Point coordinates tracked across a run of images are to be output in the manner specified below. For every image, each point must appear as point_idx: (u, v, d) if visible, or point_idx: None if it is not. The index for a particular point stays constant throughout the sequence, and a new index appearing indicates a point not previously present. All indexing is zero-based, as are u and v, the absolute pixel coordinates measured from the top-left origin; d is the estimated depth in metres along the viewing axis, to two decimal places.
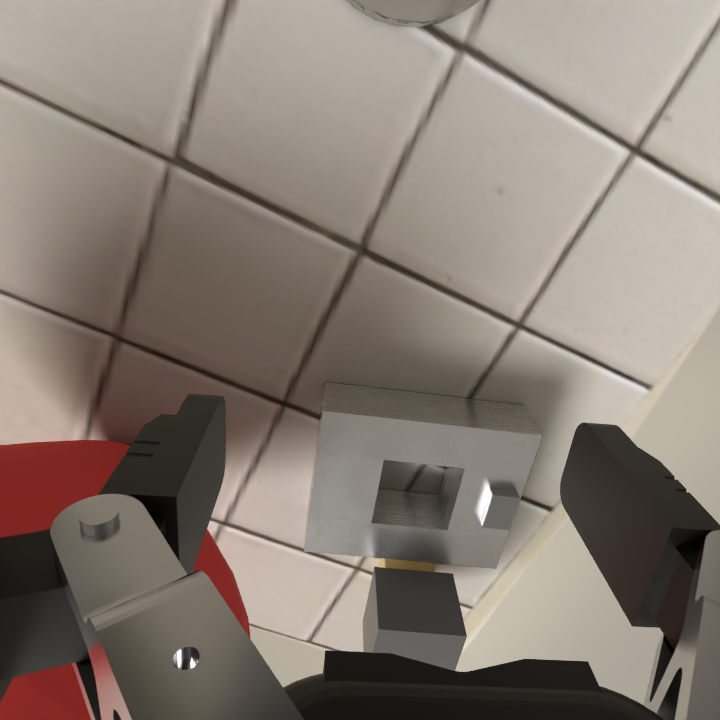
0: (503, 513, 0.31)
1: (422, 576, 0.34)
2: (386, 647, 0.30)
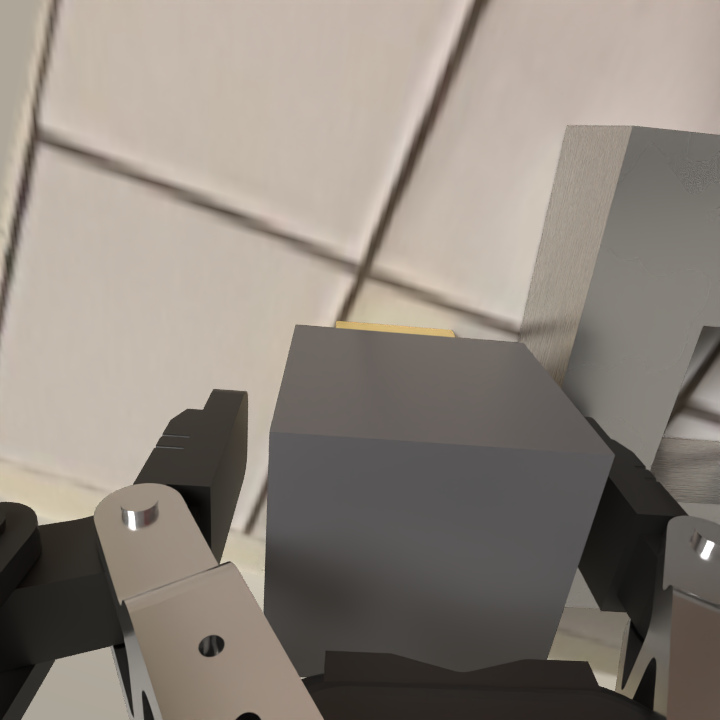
0: None
1: None
2: (509, 489, 0.08)
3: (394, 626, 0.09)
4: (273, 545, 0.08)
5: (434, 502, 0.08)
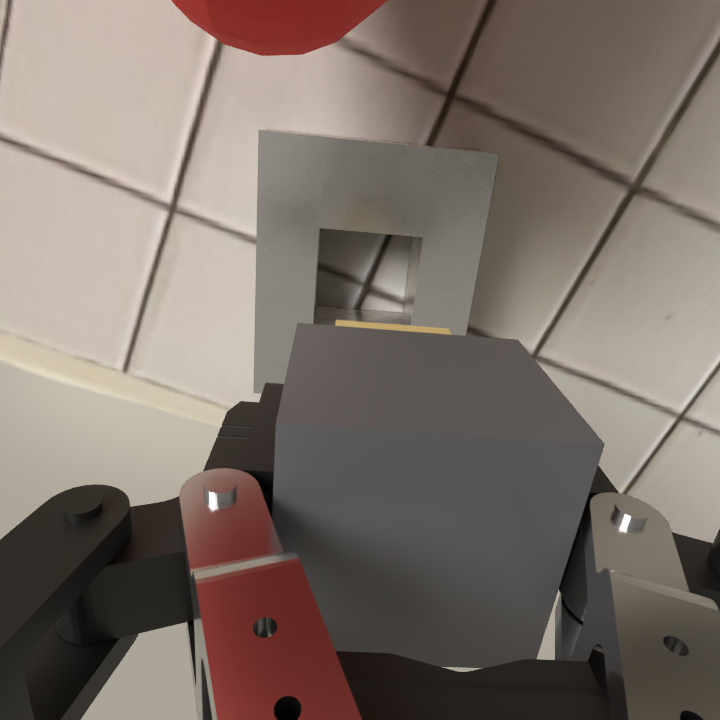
0: None
1: None
2: (504, 477, 0.08)
3: (395, 612, 0.10)
4: (278, 533, 0.09)
5: (433, 490, 0.09)
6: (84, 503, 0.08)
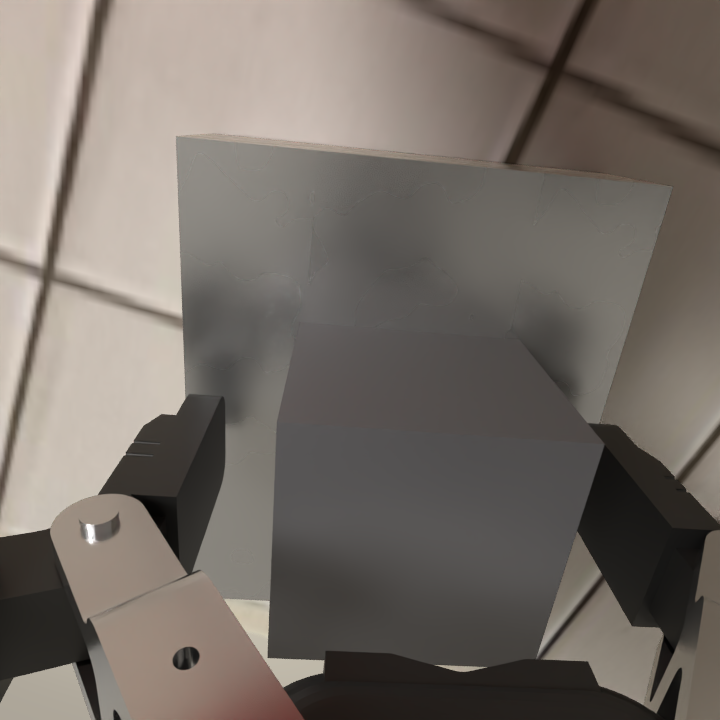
0: None
1: None
2: (504, 477, 0.08)
3: (395, 610, 0.10)
4: (279, 531, 0.09)
5: (432, 490, 0.09)
6: None
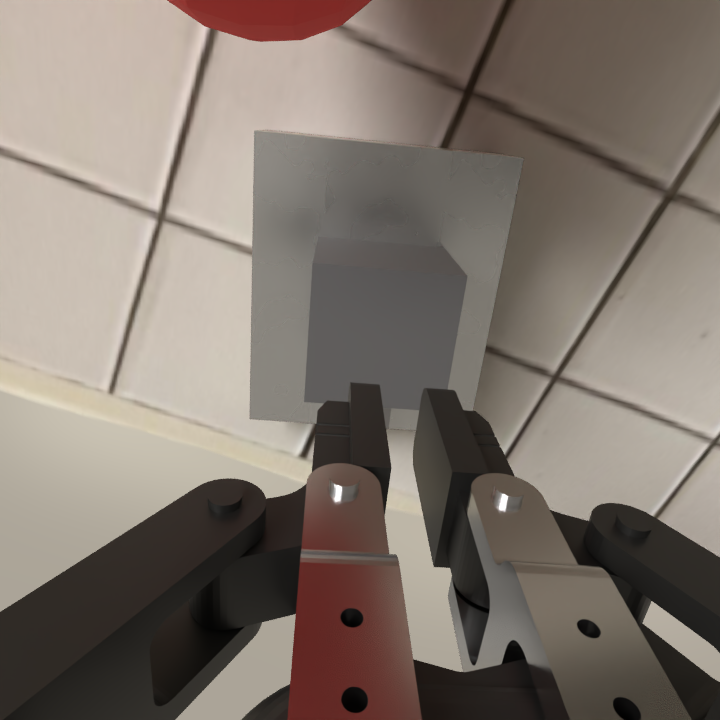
0: None
1: None
2: (420, 294, 0.18)
3: (370, 372, 0.19)
4: (312, 323, 0.18)
5: (386, 300, 0.18)
6: (226, 497, 0.08)
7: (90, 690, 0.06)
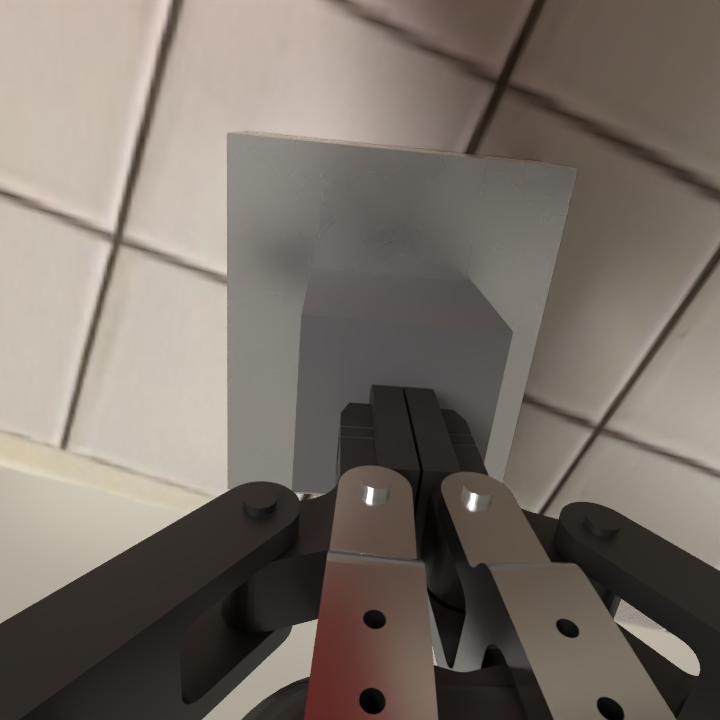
0: None
1: None
2: (448, 355, 0.13)
3: None
4: (301, 393, 0.13)
5: (402, 364, 0.13)
6: (261, 500, 0.08)
7: (120, 684, 0.06)
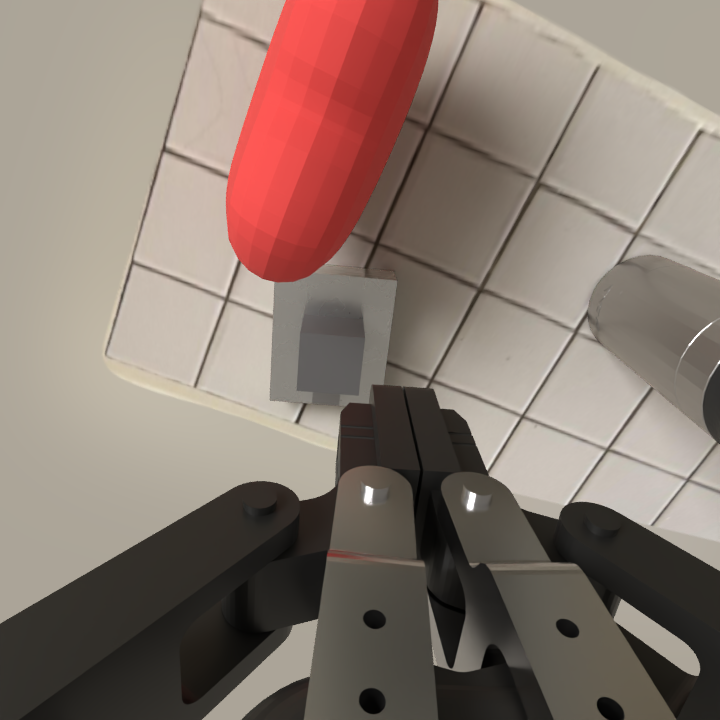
0: (326, 398, 0.48)
1: None
2: (345, 345, 0.42)
3: (325, 377, 0.43)
4: (300, 357, 0.42)
5: (331, 347, 0.42)
6: (260, 499, 0.08)
7: (120, 684, 0.06)
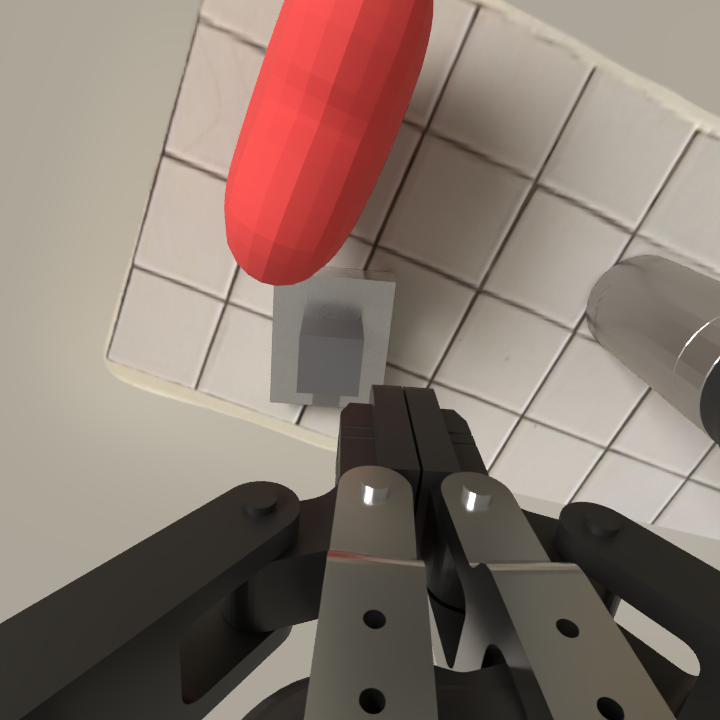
0: (326, 399, 0.48)
1: None
2: (345, 347, 0.42)
3: (325, 379, 0.43)
4: (299, 359, 0.42)
5: (330, 349, 0.42)
6: (261, 499, 0.08)
7: (120, 684, 0.06)
